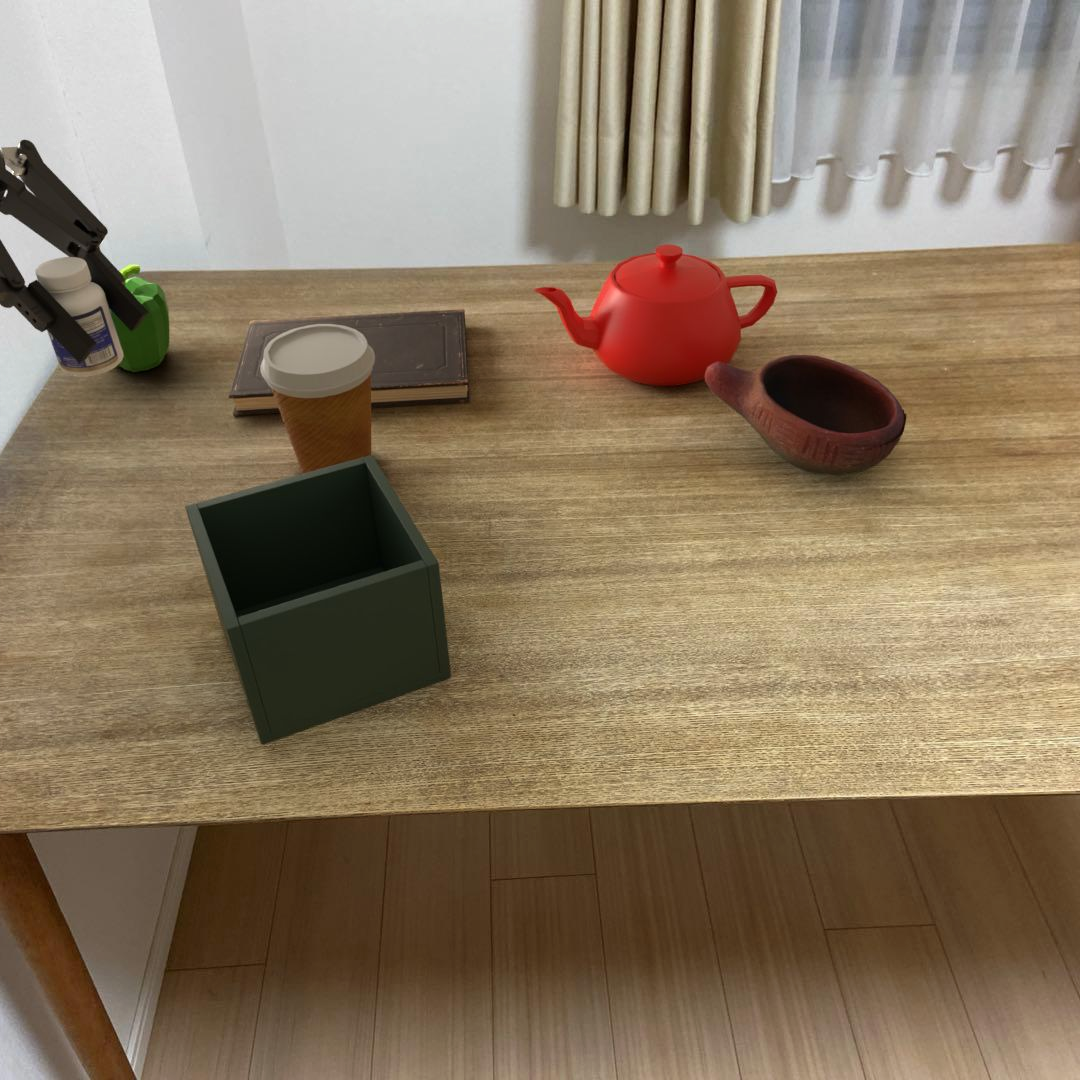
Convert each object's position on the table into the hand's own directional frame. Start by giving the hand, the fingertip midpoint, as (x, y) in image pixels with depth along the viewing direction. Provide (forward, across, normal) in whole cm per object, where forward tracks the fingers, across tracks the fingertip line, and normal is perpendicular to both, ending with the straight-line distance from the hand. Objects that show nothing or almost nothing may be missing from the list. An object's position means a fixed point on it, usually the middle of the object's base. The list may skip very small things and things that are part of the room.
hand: (114, 336), depth 85 cm
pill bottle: (0, 0, -5) cm, 5 cm away
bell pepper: (-1, -14, -19) cm, 24 cm away
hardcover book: (+14, -22, -4) cm, 27 cm away
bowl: (+47, -25, +29) cm, 60 cm away
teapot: (+34, -36, +16) cm, 52 cm away
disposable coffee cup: (+20, -7, +2) cm, 21 cm away
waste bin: (+29, +13, +11) cm, 34 cm away
